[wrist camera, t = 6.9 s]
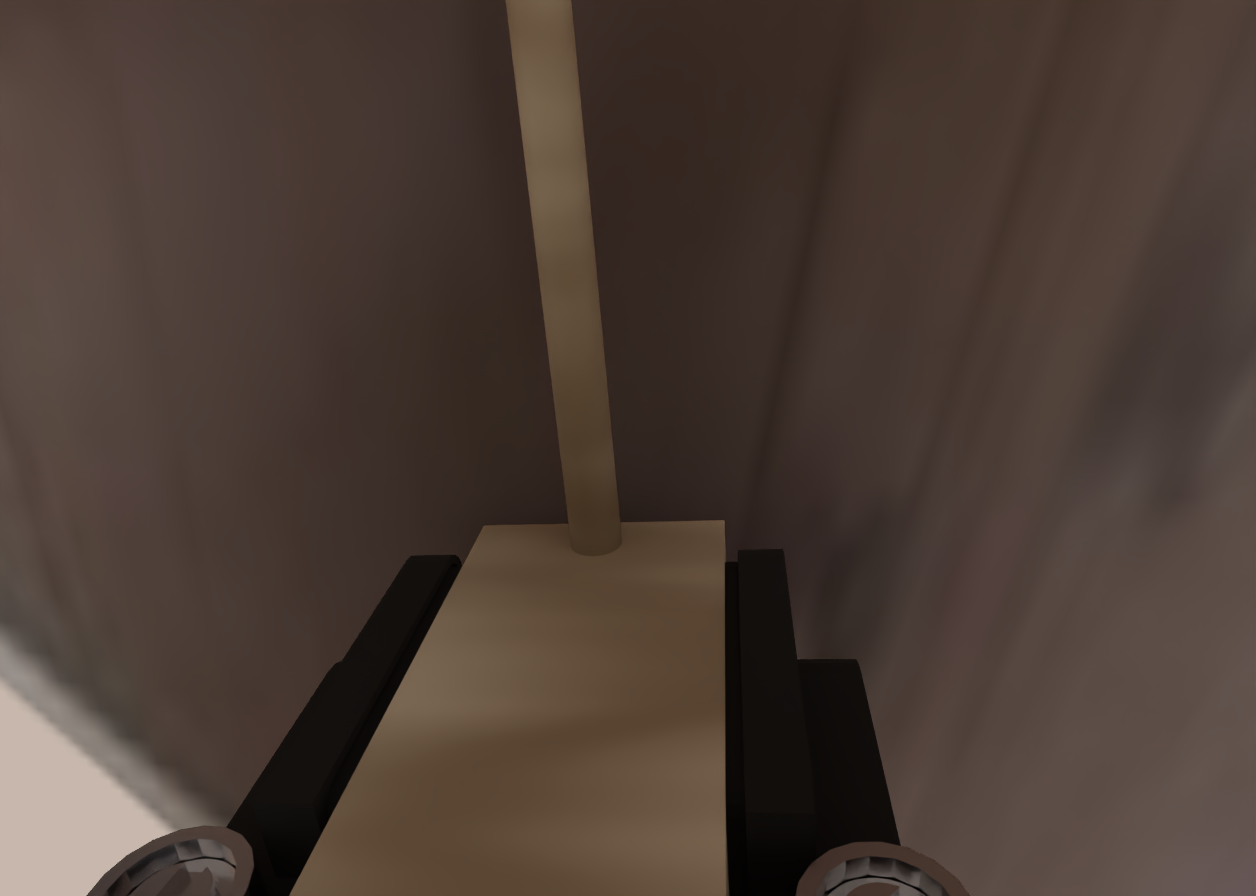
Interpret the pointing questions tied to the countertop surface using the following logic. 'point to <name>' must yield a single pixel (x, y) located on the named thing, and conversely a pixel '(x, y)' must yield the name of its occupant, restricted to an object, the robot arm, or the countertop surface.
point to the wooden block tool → (554, 634)
